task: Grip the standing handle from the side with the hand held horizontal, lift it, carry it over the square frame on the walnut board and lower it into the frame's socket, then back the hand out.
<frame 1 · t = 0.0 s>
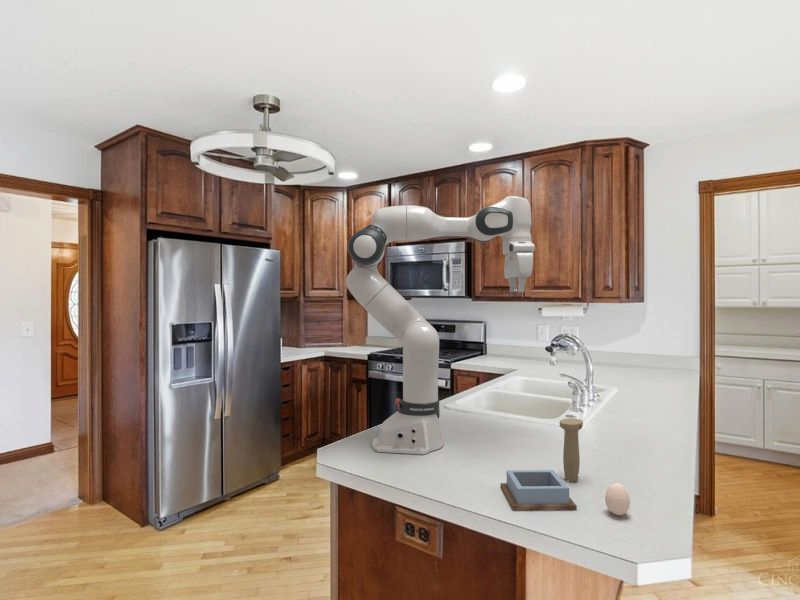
hand: (517, 292, 142), 48 cm above the countertop, tool pointing down, fingers open, 8 cm apart
square frame: (536, 486, 105), on the board, point 3 cm above the countertop
egg: (617, 515, 97), on the countertop
board: (536, 498, 105), on the countertop
handle: (571, 480, 115), on the countertop
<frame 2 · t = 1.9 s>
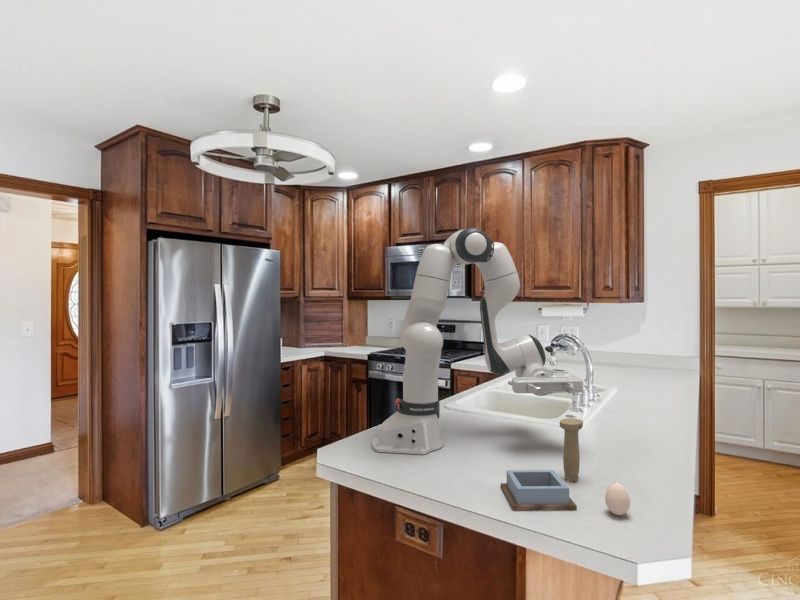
hand: (554, 390, 127), 20 cm above the countertop, tool horizontal, fingers open, 8 cm apart
nothing on the countertop moved.
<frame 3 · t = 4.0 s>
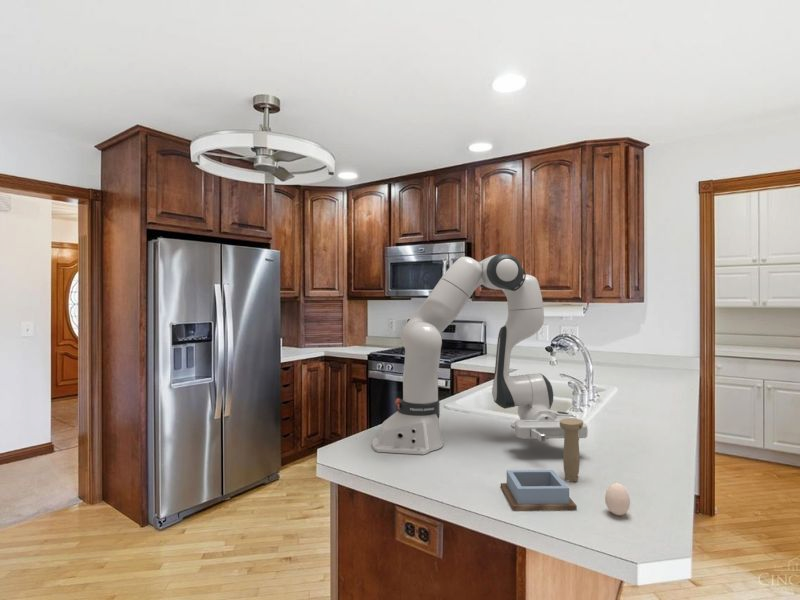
hand: (559, 437, 124), 8 cm above the countertop, tool horizontal, fingers open, 8 cm apart
nothing on the countertop moved.
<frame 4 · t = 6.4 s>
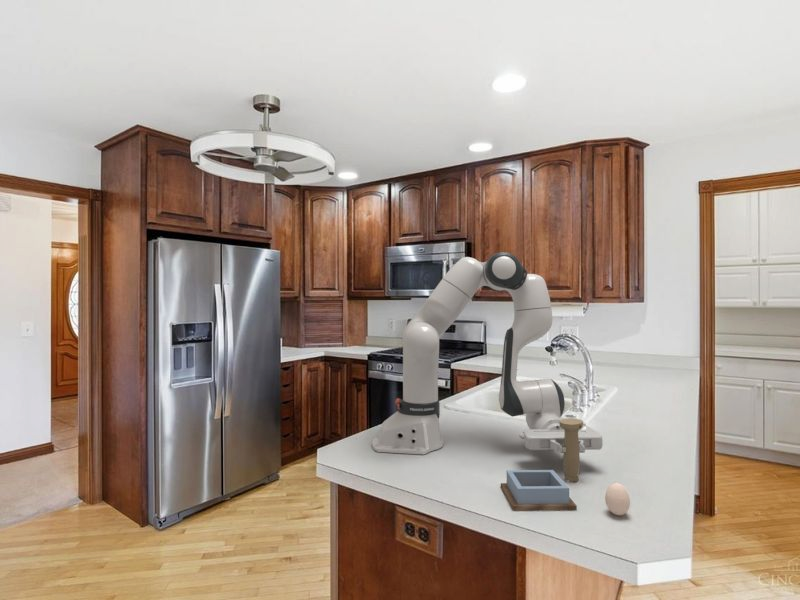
hand: (572, 449, 114), 8 cm above the countertop, tool horizontal, fingers closed on handle, 3 cm apart
handle: (571, 480, 115), on the countertop, touching gripper
everything else where it was.
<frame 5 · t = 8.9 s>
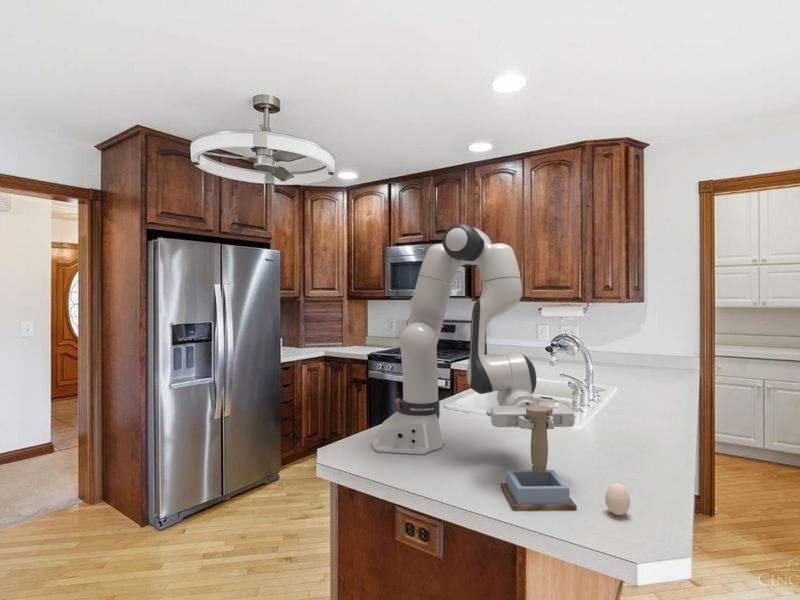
hand: (541, 425, 105), 17 cm above the countertop, tool horizontal, fingers closed on handle, 3 cm apart
handle: (539, 472, 107), point 5 cm above the countertop, touching gripper
everything else where it was.
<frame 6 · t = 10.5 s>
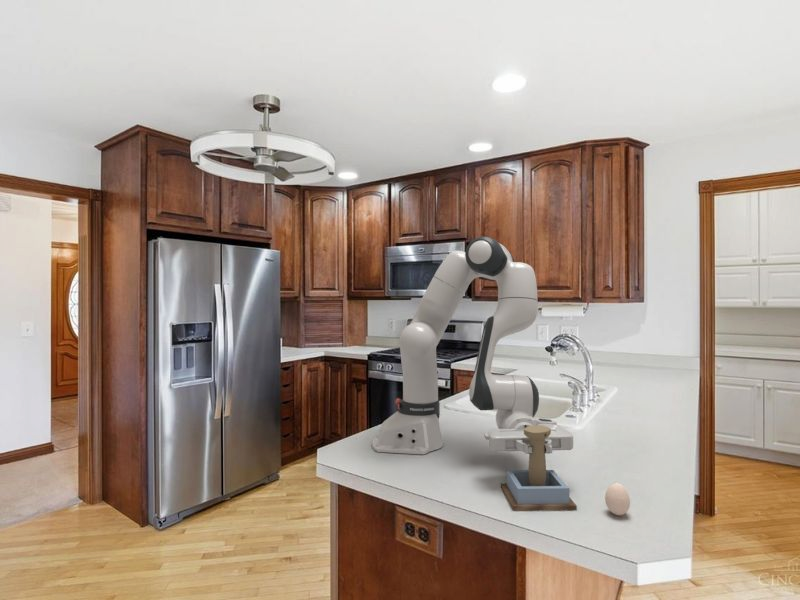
hand: (539, 450, 104), 12 cm above the countertop, tool horizontal, fingers closed on handle, 3 cm apart
handle: (537, 493, 106), point 1 cm above the countertop, touching board, gripper
everything else where it was.
when the fingers open (12 cm above the countertop, at t = 10.9 s): handle stays where it is, resting on board.
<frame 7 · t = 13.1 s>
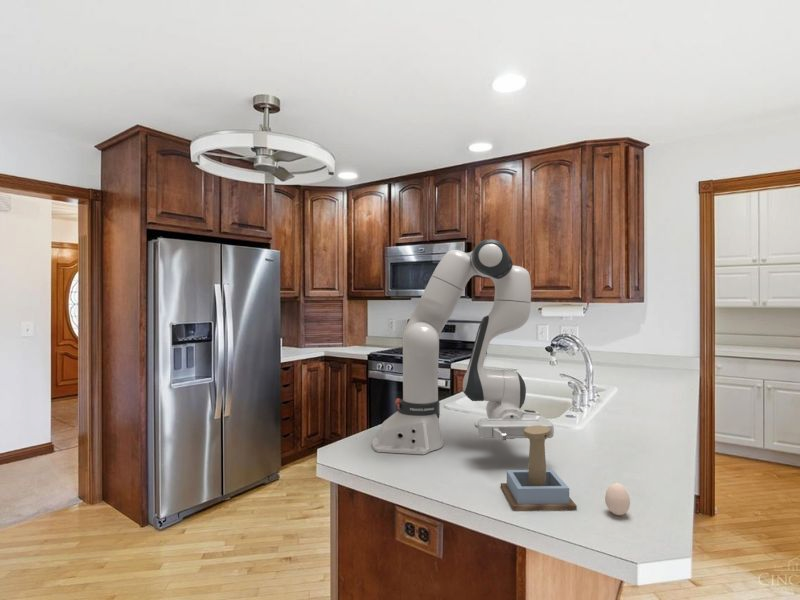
hand: (521, 437, 116), 10 cm above the countertop, tool horizontal, fingers open, 8 cm apart
handle: (537, 493, 106), point 1 cm above the countertop, touching board
everything else where it was.
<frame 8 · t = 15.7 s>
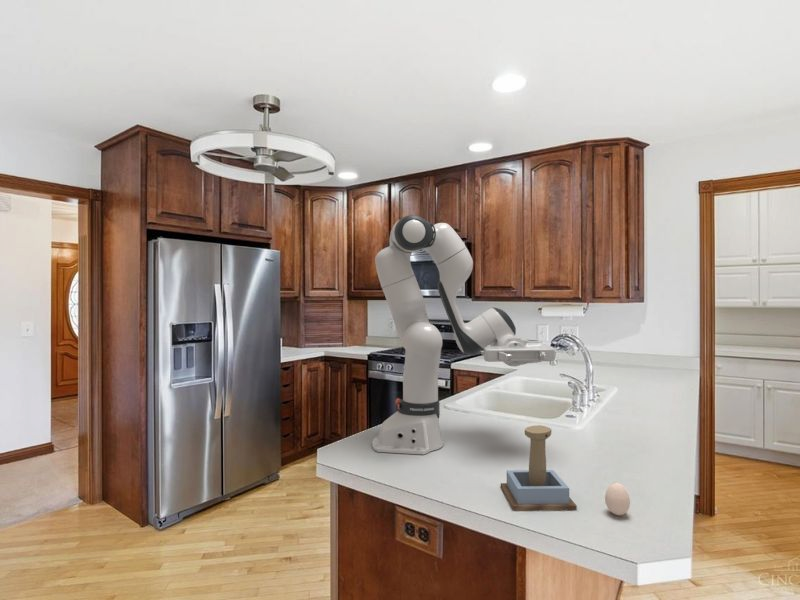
hand: (525, 357, 124), 30 cm above the countertop, tool horizontal, fingers open, 8 cm apart
nothing on the countertop moved.
at the end: handle 0.7 cm off-centre on the square frame, point 0.9 cm above the square frame's base; handle tilted 2°; the gripper is holding nothing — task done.
